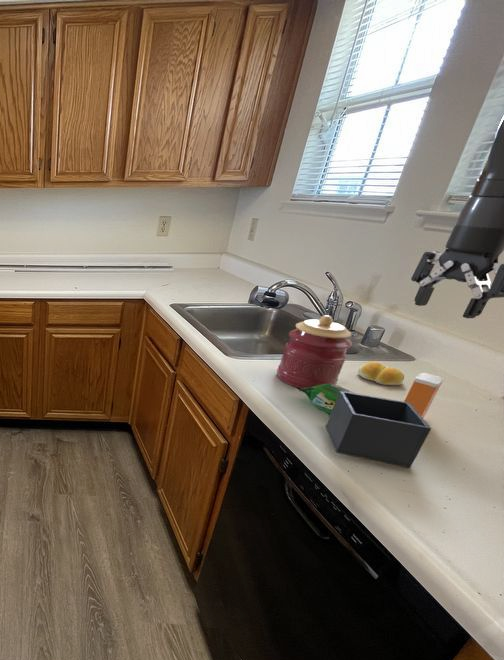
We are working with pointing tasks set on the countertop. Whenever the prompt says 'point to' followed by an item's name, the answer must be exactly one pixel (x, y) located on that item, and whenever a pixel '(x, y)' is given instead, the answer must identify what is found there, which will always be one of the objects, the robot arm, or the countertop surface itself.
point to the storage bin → (376, 428)
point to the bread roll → (381, 374)
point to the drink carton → (423, 392)
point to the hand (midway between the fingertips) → (443, 311)
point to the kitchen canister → (314, 353)
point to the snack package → (324, 395)
